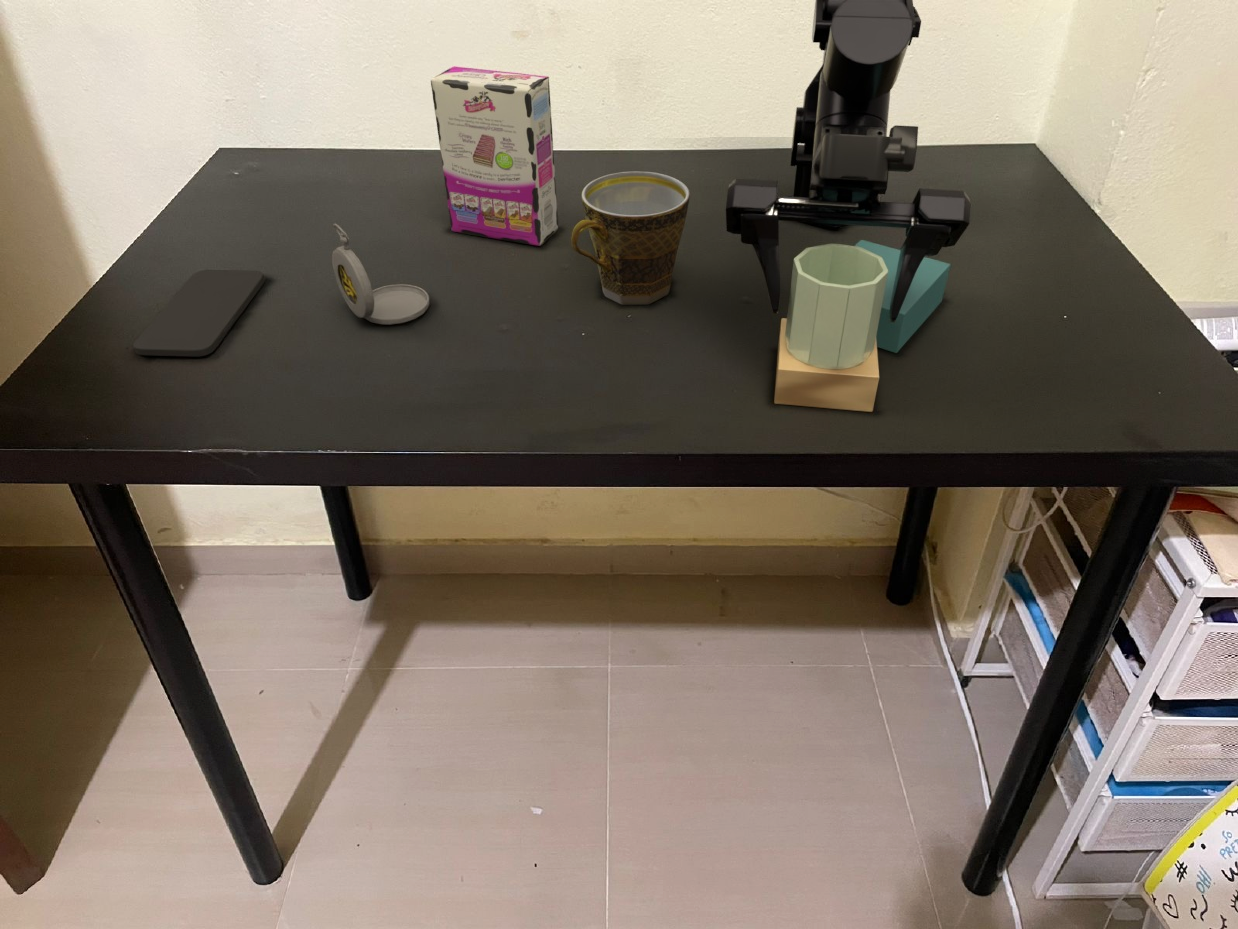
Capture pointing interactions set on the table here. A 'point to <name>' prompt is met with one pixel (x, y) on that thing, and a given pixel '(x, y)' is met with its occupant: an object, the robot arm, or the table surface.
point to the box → (907, 297)
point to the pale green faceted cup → (835, 305)
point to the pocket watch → (380, 303)
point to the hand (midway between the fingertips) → (833, 316)
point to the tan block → (825, 382)
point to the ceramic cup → (634, 233)
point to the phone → (200, 313)
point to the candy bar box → (497, 153)
